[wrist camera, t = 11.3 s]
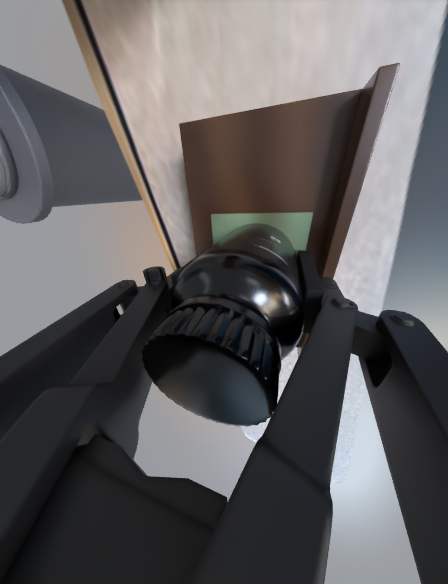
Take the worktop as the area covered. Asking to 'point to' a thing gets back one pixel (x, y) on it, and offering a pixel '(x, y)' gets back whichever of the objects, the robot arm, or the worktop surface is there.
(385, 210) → the worktop surface
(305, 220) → the wooden plaque with label
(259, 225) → the supplement bottle
